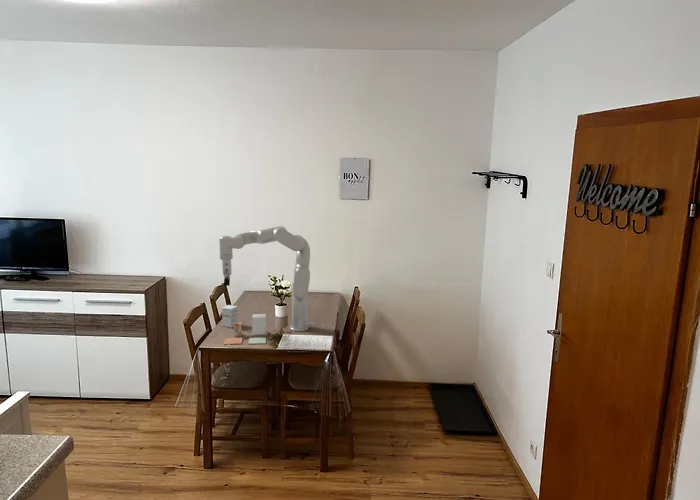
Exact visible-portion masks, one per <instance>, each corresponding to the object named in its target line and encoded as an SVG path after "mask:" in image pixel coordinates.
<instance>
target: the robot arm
mask: <svg viewBox="0 0 700 500" xmlns="http://www.w3.org/2000/svg"><path fill="white" fill-rule="evenodd" d="M218 239H219V260H221V264H222V265H221V267H222V275H223V278H224V279H223V285H224V286H225V287H226V286H228V287H230V285H231V284H230V282H231V276H232V273H233V271H232V260H233V259H234V257H233V249H235V250H239V249H240V250H241V249H242V248H244V247H245V246H246V245H250V244H260V245H264V244H269V243H274V242H278V243H279V244H281V245H283V246H285V248H288V249H290V250H292V251H293V252H296V259H295V266H294V269H293V270H294V271H293V273H294V277H293V282H292V284H291V324H290V325H289V329H290V330H291V331H294V332H305V331H308V330H309V329H310V326H315V321H314V322H313V321H308V293H309V288H310V281H311V272H310V262H311V261H310V260H311V248H310V247H311V246H310V245H309V243H308V241H307V240H306V238H304V237H303V236H302V235H299V234H293V233H291V232H289V231H288V230H287V229H286V227H285V226H283V225H282V226H281V225H279V226H275V227H274V226H273V227H270V228H265V229H264V228H263V229H260V230H254V231H253V230H252V231H247V232H243V233H239V234H235V236H234V237H232V236H229V235H222V236H220V237H219V238H218Z"/></svg>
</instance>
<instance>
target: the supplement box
mask: <svg viewBox="0 0 700 500" xmlns="http://www.w3.org/2000/svg"><path fill="white" fill-rule="evenodd" d="M221 315H222V316H221V317H222V321H221V322H222V327H226V328H231V329H232V328H234V322H239V306H238V305H233V304H227V305H225V306H223V307H221Z"/></svg>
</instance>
